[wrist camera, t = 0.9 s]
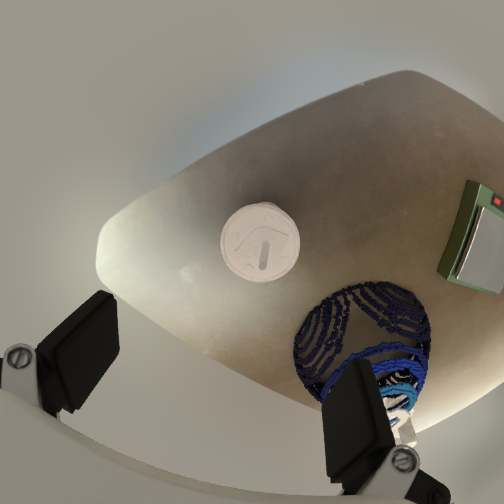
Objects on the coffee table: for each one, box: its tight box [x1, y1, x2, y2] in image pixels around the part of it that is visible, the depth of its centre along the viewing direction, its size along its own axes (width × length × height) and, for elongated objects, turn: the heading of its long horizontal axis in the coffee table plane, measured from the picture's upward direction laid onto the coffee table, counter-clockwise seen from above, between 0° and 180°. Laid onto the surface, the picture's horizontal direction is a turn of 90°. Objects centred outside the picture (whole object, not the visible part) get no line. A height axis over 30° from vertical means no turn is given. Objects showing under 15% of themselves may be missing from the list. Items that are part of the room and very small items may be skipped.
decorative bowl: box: [293, 281, 431, 432], centre depth 28 cm, size 20×20×14 cm
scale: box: [437, 180, 504, 296], centre depth 26 cm, size 13×12×3 cm
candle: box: [383, 394, 418, 447], centre depth 33 cm, size 5×5×12 cm
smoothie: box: [220, 202, 300, 282], centre depth 24 cm, size 6×6×14 cm
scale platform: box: [454, 206, 504, 294], centre depth 24 cm, size 10×11×1 cm
